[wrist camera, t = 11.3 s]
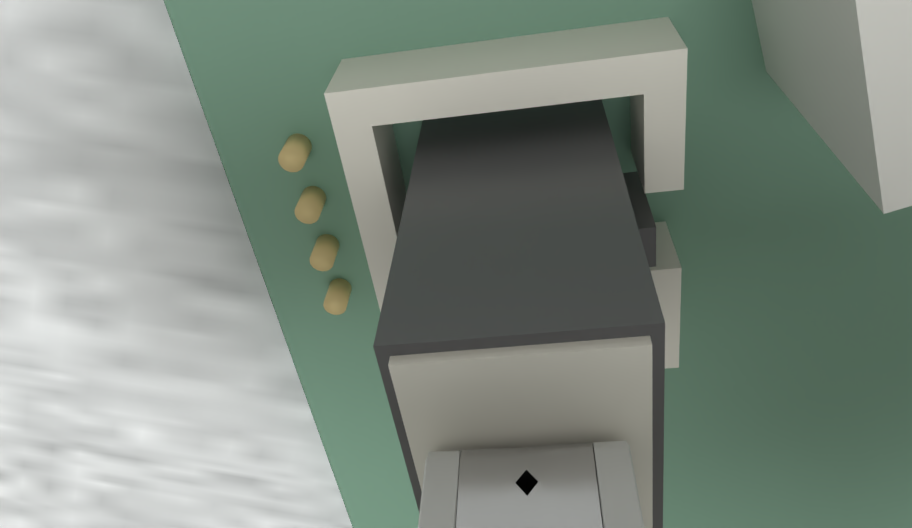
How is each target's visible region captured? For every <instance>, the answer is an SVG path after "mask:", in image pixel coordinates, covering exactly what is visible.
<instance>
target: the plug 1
mask: <svg viewBox="0 0 912 528" xmlns="http://www.w3.org/2000/svg"><path fill="white" fill-rule="evenodd" d="M649 267H656V225H655V222H654V219H653V216H652V212H651V209H650V206H649V203H648V200H647V197H646V194H645V193H644V190H643V187H642V184H641V181H640V178H639V175H638V171H637V172H627V173H622V169H621V166H620V162H619V159H618V155H617V152H616V148H615V144H614V141H613V137H612V134H611V130H610V127H609V123H608V120H607V116H606V113H605V109H604V106H603V102H602V99H599V100H591V101H582V102H574V103H565V104H557V105H548V106H540V107H531V108H523V109H514V110H506V111H497V112H489V113H480V114H472V115H463V116H455V117H446V118H438V119H429V120H423V121H422V126H421V130H420V135H419V139H418V144H417V148H416V153H415V158H414V162H413V167H412V171H411V176H410V180H409V185H408V190H407V194H406V199H405V203H404V208H403V212H402V217H401V222H400V226H399V231H398V235H397V240H396V244H395V249H394V254H393V258H392V263H391V267H390V272H389V276H388V281H387V286H386V290H385V295H384V299H383V304H382V309H381V313H380V318H379V322H378V327H377V331H376V336H375V341H374V345H373V348H374V351H375V355H376V358H377V362H378V366H379V369H380V373H381V377H382V380H383V384H384V387H385V391H386V395H387V398H388V402H389V405H390V409H391V413H392V416H393V420H394V424H395V427H396V431H397V434H398V438H399V442H400V445H401V449H402V452H403V456H404V460H405V463H406V467H407V471H408V474H409V478H410V481H411V485H412V489H413V492H414V496H415V499H416V503H417V507H418V510H419V512H420V504H421V495H422V486H423V477H424V468H425V461H426V458H427V455H428V453H429V452H434V451H458V450H476V449H506V448H526V447H531V446H545V445H559V444H573V443H587V442H592V445H593V442H609V441H625V440H626V441H627V443H628V444H629V446H630V451H631V456H632V462H633V467H634V473H635V478H636V484H637V489H638V495H639V500H640V506H641V511H642V517H643V522H644V527H645V528H663V474H664V387H665V320H664V317H663V313H662V310H661V306H660V303H659V299H658V296H657V292H656V289H655V285H654V282H653V278H652V275H651V271H650V268H649Z"/></svg>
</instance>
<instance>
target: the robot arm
mask: <svg viewBox="0 0 912 528" xmlns="http://www.w3.org/2000/svg"><path fill="white" fill-rule="evenodd" d="M418 528H645V527H644V522H643V517H642V511H641V506H640V500H639V495H638V489H637V484H636V478H635V473H634V467H633V462H632V456H631V451H630V446H629V444H628V443H627V441H626V440H625V441H609V442H593V445H592V442H587V443H573V444H559V445H545V446H531V447H526V448H506V449H476V450H458V451H434V452H429V453H428V455H427V458H426V461H425V468H424V477H423V486H422V495H421V504H420V512H419V521H418Z"/></svg>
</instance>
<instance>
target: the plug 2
mask: <svg viewBox="0 0 912 528" xmlns="http://www.w3.org/2000/svg"><path fill="white" fill-rule="evenodd" d="M752 5H753V10H754V14H755V19H756V24H757V29H758V34H759V39H760V43H761V48H762V53H763V58H764V63H765V67H766V72H767V73H768V74H769V75H770V77H771V78H772V79H773V80H774V81H775V83H776V84H777V85H778V86H779V87H780V89H781V90H782V91H783V92H784V94H785V95H786V96H787V97H788V98H789V100H790V101H791V102H792V103H793V104H794V106H795V107H796V108H797V109H798V111H799V112H800V113H801V114H802V115H803V117H804V118H805V119H806V120H807V121H808V123H809V124H810V125H811V126H812V127H813V129H814V130H815V131H816V132H817V134H818V135H819V136H820V137H821V138H822V140H823V141H824V142H825V143H826V144H827V146H828V147H829V148H830V149H831V151H832V152H833V153H834V154H835V155H836V157H837V158H838V159H839V160H840V161H841V163H842V164H843V165H844V166H845V167H846V169H847V170H848V171H849V172H850V174H851V175H852V176H853V177H854V178H855V180H856V181H857V182H858V183H859V184H860V186H861V187H862V188H863V189H864V191H865V192H866V193H867V194H868V195H869V197H870V198H871V199H872V200H873V201H874V203H875V204H876V205H877V206H878V207H879V209H880V210H881V211H882V212H883V214H885V213H889V212H892V211H896V210H899V209H902V208H906V207H909V206H912V0H752Z"/></svg>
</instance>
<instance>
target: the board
mask: <svg viewBox="0 0 912 528" xmlns="http://www.w3.org/2000/svg"><path fill="white" fill-rule="evenodd" d="M164 3H165V5H166V8H167V11H168V14H169V17H170V19H171V22H172V25H173V28H174V31H175V33H176V36H177V39H178V42H179V44H180V47H181V50H182V53H183V56H184V58H185V61H186V64H187V67H188V70H189V72H190V75H191V78H192V81H193V83H194V86H195V89H196V92H197V95H198V97H199V100H200V103H201V106H202V109H203V111H204V114H205V117H206V120H207V122H208V125H209V128H210V131H211V134H212V136H213V139H214V142H215V145H216V148H217V150H218V153H219V156H220V159H221V161H222V164H223V167H224V170H225V173H226V175H227V178H228V181H229V184H230V187H231V189H232V192H233V195H234V198H235V200H236V203H237V206H238V209H239V212H240V214H241V217H242V220H243V223H244V226H245V228H246V231H247V234H248V237H249V239H250V242H251V245H252V248H253V251H254V253H255V256H256V259H257V262H258V265H259V267H260V270H261V273H262V276H263V278H264V281H265V284H266V287H267V290H268V292H269V295H270V298H271V301H272V304H273V306H274V309H275V312H276V315H277V317H278V320H279V323H280V326H281V329H282V331H283V334H284V337H285V340H286V343H287V345H288V348H289V351H290V354H291V356H292V359H293V362H294V365H295V368H296V370H297V373H298V376H299V379H300V382H301V384H302V387H303V390H304V393H305V395H306V398H307V401H308V404H309V407H310V409H311V412H312V415H313V418H314V421H315V423H316V426H317V429H318V432H319V434H320V437H321V440H322V443H323V446H324V448H325V451H326V454H327V457H328V460H329V462H330V465H331V468H332V471H333V473H334V476H335V479H336V482H337V485H338V487H339V490H340V493H341V496H342V499H343V501H344V504H345V507H346V510H347V512H348V515H349V518H350V521H351V524H352V526H353V528H418V521H419V510H418V507H417V503H416V499H415V496H414V492H413V489H412V485H411V481H410V478H409V474H408V471H407V467H406V463H405V460H404V456H403V452H402V449H401V445H400V442H399V438H398V434H397V431H396V427H395V424H394V420H393V416H392V413H391V409H390V405H389V402H388V398H387V395H386V391H385V387H384V384H383V380H382V377H381V373H380V369H379V366H378V362H377V358H376V355H375V351H374V348H373V345H374V341H375V336H376V331H377V327H378V322H379V318H380V313H381V309H382V304H383V299H384V295H385V290H386V286H387V281H388V276H389V272H390V267H391V263H392V258H393V254H394V249H395V244H396V240H397V235H398V231H399V226H400V222H401V217H402V212H403V208H404V203H405V199H406V194H407V190H408V185H409V180H410V176H411V171H412V167H413V162H414V158H415V153H416V148H417V144H418V139H419V135H420V130H421V126H422V121H423V120H429V119H438V118H446V117H455V116H463V115H472V114H480V113H489V112H497V111H506V110H514V109H523V108H531V107H540V106H548V105H557V104H565V103H574V102H582V101H591V100H599V99H602V102H603V106H604V109H605V113H606V116H607V120H608V123H609V127H610V130H611V134H612V137H613V141H614V144H615V148H616V152H617V155H618V159H619V162H620V166H621V169H622V173H627V172H637V171H638V175H639V178H640V181H641V184H642V187H643V190H644V193H645V194H646V197H647V200H648V203H649V206H650V209H651V212H652V216H653V219H654V222H655V225H656V267H649V268H650V271H651V275H652V278H653V282H654V285H655V289H656V292H657V296H658V299H659V303H660V306H661V310H662V313H663V317H664V320H665V387H664V474H663V528H912V206H909V207H906V208H902V209H899V210H896V211H892V212H889V213H885V214H883V212H882V211H881V210H880V209H879V207H878V206H877V205H876V204H875V203H874V201H873V200H872V199H871V198H870V197H869V195H868V194H867V193H866V192H865V191H864V189H863V188H862V187H861V186H860V184H859V183H858V182H857V181H856V180H855V178H854V177H853V176H852V175H851V174H850V172H849V171H848V170H847V169H846V167H845V166H844V165H843V164H842V163H841V161H840V160H839V159H838V158H837V157H836V155H835V154H834V153H833V152H832V151H831V149H830V148H829V147H828V146H827V144H826V143H825V142H824V141H823V140H822V138H821V137H820V136H819V135H818V134H817V132H816V131H815V130H814V129H813V127H812V126H811V125H810V124H809V123H808V121H807V120H806V119H805V118H804V117H803V115H802V114H801V113H800V112H799V111H798V109H797V108H796V107H795V106H794V104H793V103H792V102H791V101H790V100H789V98H788V97H787V96H786V95H785V94H784V92H783V91H782V90H781V89H780V87H779V86H778V85H777V84H776V83H775V81H774V80H773V79H772V78H771V77H770V75H769V74H768V73H767V72H766V67H765V63H764V58H763V53H762V48H761V43H760V39H759V34H758V29H757V24H756V19H755V14H754V10H753V5H752V0H164Z"/></svg>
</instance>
